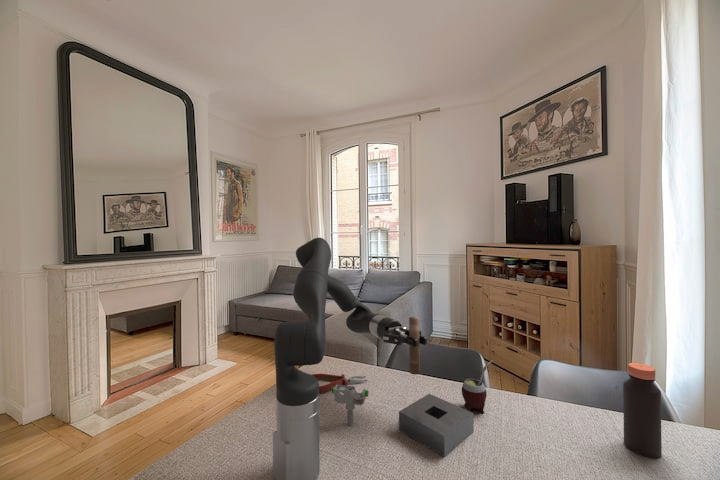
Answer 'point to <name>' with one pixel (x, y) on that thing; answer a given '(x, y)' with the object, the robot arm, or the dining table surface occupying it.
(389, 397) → the dining table surface
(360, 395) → the mechanical component
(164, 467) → the dining table surface
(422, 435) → the grey square hole block
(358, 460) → the dining table surface
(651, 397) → the bottle
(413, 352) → the pin
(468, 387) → the mate gourd
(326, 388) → the pliers
